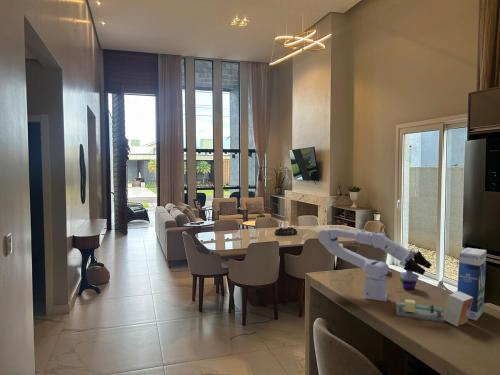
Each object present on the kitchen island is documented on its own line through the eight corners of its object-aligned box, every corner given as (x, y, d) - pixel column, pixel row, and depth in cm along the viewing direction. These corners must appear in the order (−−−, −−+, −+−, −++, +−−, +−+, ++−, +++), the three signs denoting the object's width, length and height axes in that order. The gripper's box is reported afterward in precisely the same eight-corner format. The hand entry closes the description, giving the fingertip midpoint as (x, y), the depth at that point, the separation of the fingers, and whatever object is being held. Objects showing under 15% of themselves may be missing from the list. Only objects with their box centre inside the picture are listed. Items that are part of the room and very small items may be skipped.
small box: (457, 327, 134) (463, 301, 132) (442, 319, 139) (448, 294, 137) (467, 322, 139) (474, 297, 137) (453, 314, 143) (459, 290, 141)
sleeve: (405, 311, 145) (405, 302, 145) (404, 307, 148) (405, 299, 148) (414, 312, 144) (415, 303, 144) (414, 309, 147) (414, 300, 147)
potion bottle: (395, 287, 178) (396, 263, 178) (407, 284, 182) (408, 261, 182) (410, 292, 171) (411, 267, 170) (422, 290, 175) (423, 265, 174)
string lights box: (476, 321, 140) (480, 255, 138) (454, 315, 145) (458, 252, 143) (483, 311, 150) (487, 249, 148) (462, 306, 155) (466, 246, 153)
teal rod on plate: (396, 315, 144) (396, 303, 144) (395, 308, 152) (396, 296, 151) (444, 322, 138) (445, 310, 138) (441, 314, 146) (442, 302, 145)
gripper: (394, 248, 150) (425, 267, 143) (407, 239, 161) (437, 256, 153) (387, 262, 153) (418, 281, 146) (400, 252, 164) (429, 269, 156)
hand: (427, 269), depth 150 cm, fingers open, 7 cm apart
